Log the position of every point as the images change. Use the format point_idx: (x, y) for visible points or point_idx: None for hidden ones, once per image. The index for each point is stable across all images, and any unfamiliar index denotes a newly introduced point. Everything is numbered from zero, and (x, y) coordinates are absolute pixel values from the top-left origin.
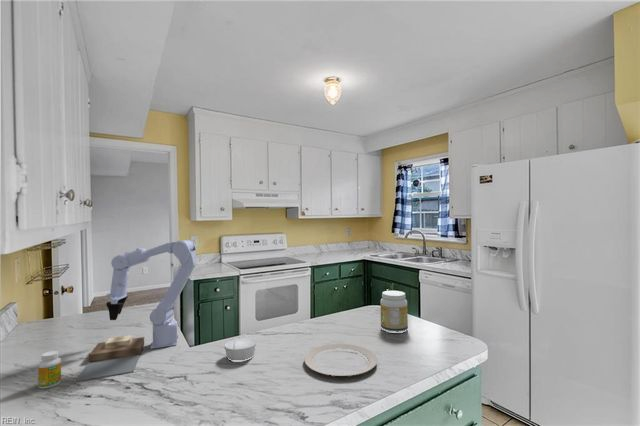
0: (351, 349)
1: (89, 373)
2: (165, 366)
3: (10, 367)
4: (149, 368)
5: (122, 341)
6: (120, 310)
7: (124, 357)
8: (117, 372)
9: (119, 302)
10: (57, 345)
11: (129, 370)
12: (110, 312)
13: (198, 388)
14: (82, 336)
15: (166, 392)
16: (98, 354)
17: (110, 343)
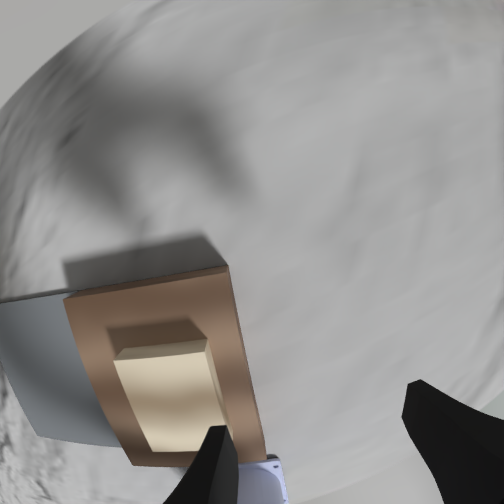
0: None
1: (10, 330)
2: (77, 486)
3: (138, 5)
4: (62, 462)
5: (141, 428)
6: (417, 439)
7: None
8: (24, 403)
9: (460, 487)
10: (351, 39)
11: (37, 428)
12: (187, 492)
13: (25, 498)
14: (444, 105)
15: (3, 467)
16: (75, 334)
17: (122, 382)
